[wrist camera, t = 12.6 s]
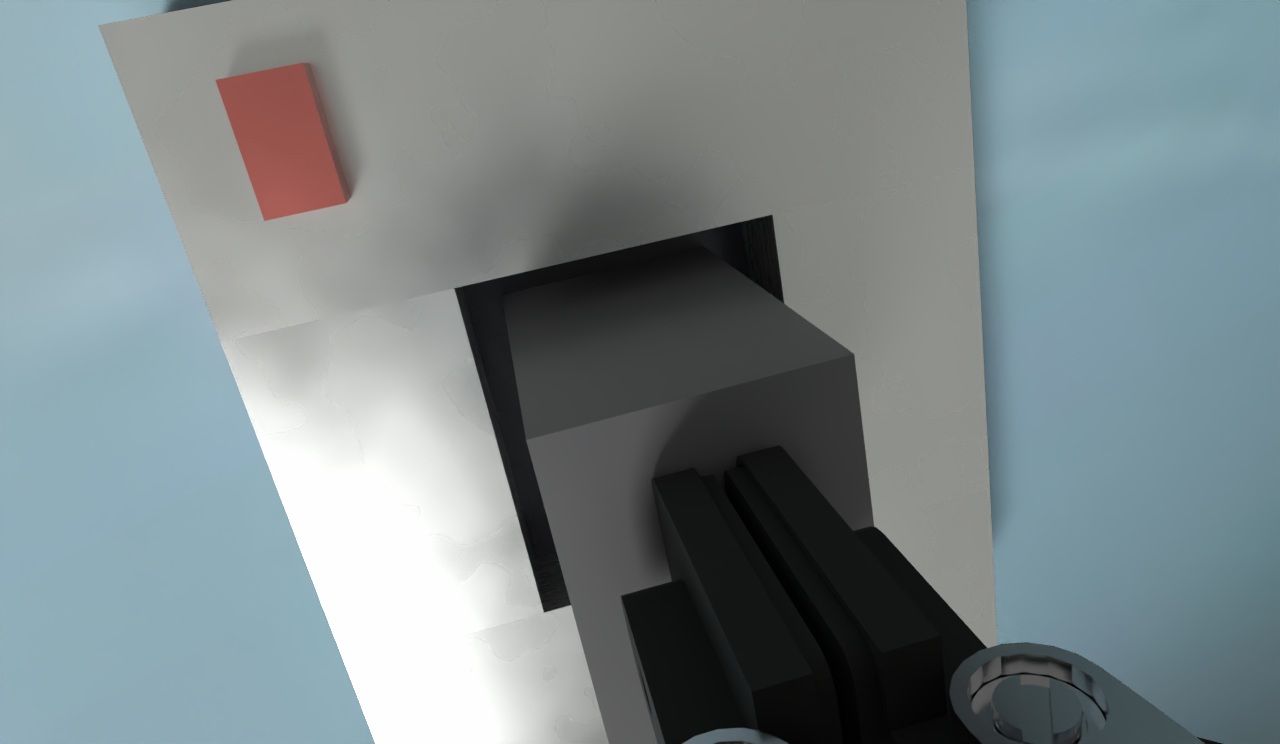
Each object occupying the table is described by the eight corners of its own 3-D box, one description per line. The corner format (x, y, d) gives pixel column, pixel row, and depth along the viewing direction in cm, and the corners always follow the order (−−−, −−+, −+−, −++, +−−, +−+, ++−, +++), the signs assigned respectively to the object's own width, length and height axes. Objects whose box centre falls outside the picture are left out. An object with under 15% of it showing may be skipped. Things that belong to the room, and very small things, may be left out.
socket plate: (941, 609, 21) (1014, 692, 19) (423, 761, 20) (415, 877, 17) (886, -106, 16) (981, -146, 13) (157, 33, 14) (81, 23, 11)
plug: (756, 548, 19) (905, 789, 13) (582, 598, 19) (644, 874, 12) (703, 246, 17) (854, 353, 10) (501, 294, 16) (525, 440, 10)
